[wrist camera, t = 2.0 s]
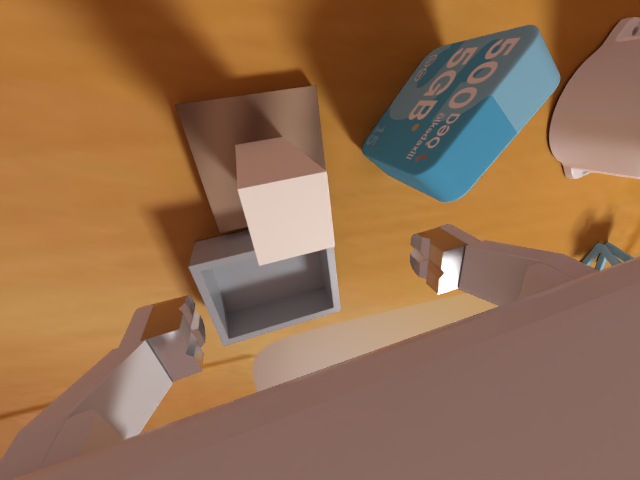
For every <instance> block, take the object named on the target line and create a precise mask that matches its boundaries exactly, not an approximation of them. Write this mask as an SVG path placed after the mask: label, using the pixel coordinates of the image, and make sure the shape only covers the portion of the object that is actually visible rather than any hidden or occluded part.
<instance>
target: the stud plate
mask: <svg viewBox="0 0 640 480" xmlns="http://www.w3.org/2000/svg"><path fill="white" fill-rule="evenodd" d="M175 106H176V109H177V112H178V114H179V117H180V120H181V123H182V126H183V129H184V132H185V135H186V137H187V140H188V143H189V146H190V149H191V152H192V155H193V158H194V160H195V163H196V166H197V169H198V172H199V175H200V178H201V181H202V184H203V186H204V189H205V192H206V195H207V198H208V201H209V204H210V207H211V209H212V212H213V215H214V218H215V221H216V224H217V227H218V230H219V233H224V232H228V231H232V230H237V229H241V228H246V227H248V225H247V221H246V218H245V214H244V211H243V207H242V204H241V200H240V197H239V193H238V190H237V171H236V151H235V145H238V144H244V143H249V142H255V141H261V140H267V139H273V138H279V137H283V138H285V139H286V140H287V141H288V142H290V143H291V144H292V145H294V146H295V147H296V148H297V149H299V150H300V151H301V152H303V153H304V154H305V155H306V156H308V157H309V158H310V159H312V160H313V161H314V162H315V163H317V164H318V165H319V166H321V167H322V168H323V169H324V170H325V161H324V152H323V143H322V134H321V125H320V116H319V107H318V98H317V89H316V85H314V86H307V87H299V88H292V89H285V90H278V91H270V92H263V93H256V94H249V95H241V96H234V97H227V98H220V99H212V100H205V101H198V102H191V103H183V104H176V105H175Z"/></svg>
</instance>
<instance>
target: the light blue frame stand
mask: <svg viewBox="0 0 640 480" xmlns="http://www.w3.org/2000/svg"><path fill="white" fill-rule="evenodd" d="M599 253H600V255H599V258H598V261H597V263H596V266H595V269H597V270H599V271H600V270H603V267H604V265H605V262H606V260H608V261H609V262H610V264H611V265H612V266H614V265H617V264H619V263H622V262H621V261H620V260H619V259H621V260H623V261H624V262H625V261H628V260H631V259H634V258H633V257H632V256H630V255H628V254H627V253H625V252H624V251H622V250H620V249H619V248H617V247H616V246H614V245H613V244H611V243H609V242H606V243H605V244H604V245H603V244H601V243H599V242H598V243H597V244H596V245H595V246H594V248H593V249H592V250H591V251H590V253H589V254H588V255H587V256H586V257H585V259H584V260H583V261H582V262H581V263H584V264H586V265H589V264H590V263H591V262H592V261H593V260H594V259H595V258H596V256H597V255H598V254H599ZM614 255H615V256H617V257H618V258H619V259H618V258H616V257H615V256H614Z"/></svg>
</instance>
